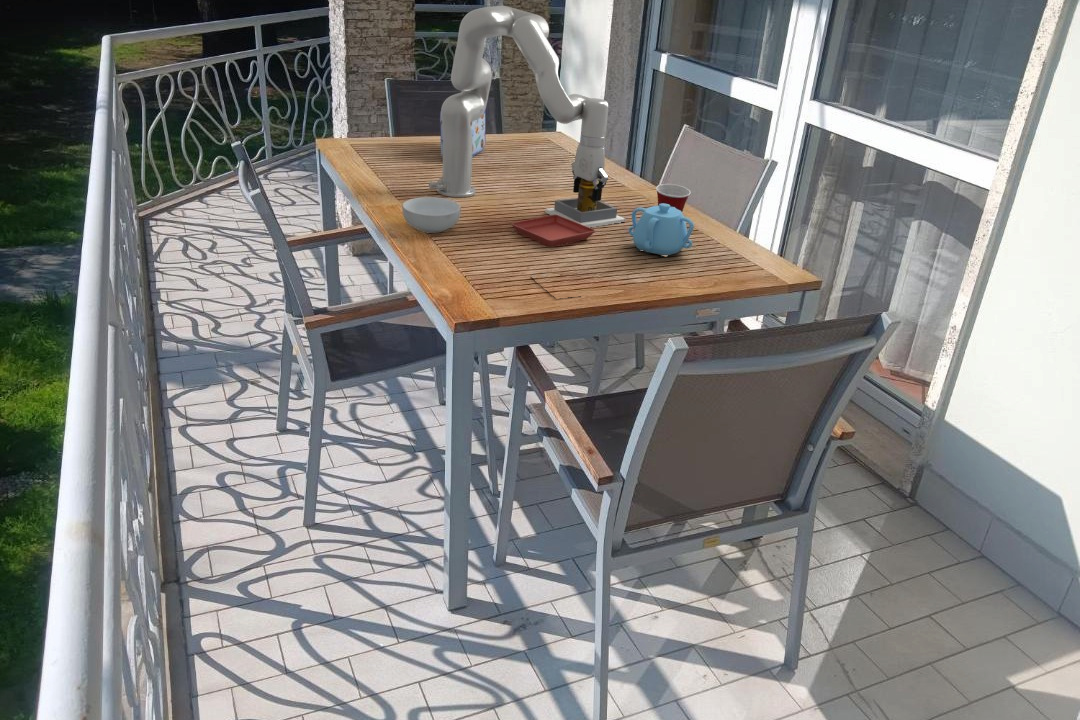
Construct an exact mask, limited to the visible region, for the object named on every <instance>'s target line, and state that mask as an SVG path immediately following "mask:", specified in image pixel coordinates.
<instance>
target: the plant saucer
mask: <svg viewBox="0 0 1080 720" xmlns="http://www.w3.org/2000/svg"><path fill="white" fill-rule="evenodd" d="M511 226H512V227H513V228H514V229H515V231H516V232H517V233H518V234H520V235H522V236H524V237H527V238H528V237H529V239H530V240H533V241H535V242H537V243H540V244H541V245H545V246H546V247H548V246H549V247H548V248H553V247H554V246H555V247H558V245H559V246H562V244H563V245H567V244H566V243H568V244H571V242H572V243H577V242H580V240H582V241H585V240H584V239H586V240H587V239H589V237H591V236H592V235H593V234H595V232H596V229H594V228H593V227H592V228H589V227H587V226H584V225H582V224H579V223H576V222H574V221H571V220H569V219H566V218H564V217H561V216H559V215H546V216H541V217H536V218H530V219H526V220H521V221H520V220H519V221H515V222H511ZM576 241H577V242H576ZM555 247H554V248H555Z"/></svg>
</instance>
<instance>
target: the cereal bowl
mask: <svg viewBox="0 0 1080 720" xmlns="http://www.w3.org/2000/svg"><path fill="white" fill-rule="evenodd" d="M401 206H402V208H401V209H402V215H403V218H404V220H405V222H406V223H407V224H408V225H409V226H411V227H413V228H415V229H417V230H419V231H420V230H421V232H423V231H424V232H423V233H427V232H429V234H431V233H432V234H436V233H441V232H444V231H445V230H449V229H450V228H452V227H454V226H455V225H456V224H457V223H458V222H459V220H460V217H461V204H460V203H458V202H457V201H455V200H452V199H449V198H443V197H437V196H436V197H434V196H433V197H432V196H429V197H428V196H425V197H416V198H415V197H414V198H411V199H407V200H406V201H404V202H403V203H402V205H401Z"/></svg>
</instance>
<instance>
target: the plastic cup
mask: <svg viewBox="0 0 1080 720" xmlns="http://www.w3.org/2000/svg"><path fill="white" fill-rule="evenodd" d="M655 189H656V195H657V206H659V204H661V203H665V204H669V205H670V207H675V208H676V209H678V210H680V211H681V212H682V213H683V211H684V209H685V206H686V202H687V201H688V198H689V196H690V195H691V193H692V192H691V190H690V189H688V187H685V186H683V185H679V184H674V183H661V184H658V185H657V186H656V187H655Z"/></svg>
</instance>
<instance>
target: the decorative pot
mask: <svg viewBox="0 0 1080 720" xmlns="http://www.w3.org/2000/svg"><path fill="white" fill-rule="evenodd" d="M638 212H643V213H641V215H640V218H639V219H638V221H637V213H638ZM631 221H632V225H631V226H630V227H629V228H628V234H629V235H631V236H632V241H633V245H634V246H635V247H636V249H638V250H639V251H640V250H643V251H646V252H645V253H649V254H650V253H651V254H656V255H659V256H660V255H669V256H670V255H674V254H677V253H679V252H680V251H682V250H683V249H684V248H685V249H690V248H692V246H693V241H692V240H691V239H690V237H691V235H692V233H693V231H694V228H695V227H694V226H695V224H694V222H693V220H692V219H691V218H689V217H687V216H684V214H683V212H681V211H680V210H678V209H676V208H675V207H670V205H669V204H665V203H661V204H659V206H658V205H653V206H650V207H647V208H645V207H641V206H640V207H636V208H635V209H634V210H632V212H631ZM687 224H688V225H689V227H687ZM687 243H688V244H687Z"/></svg>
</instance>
